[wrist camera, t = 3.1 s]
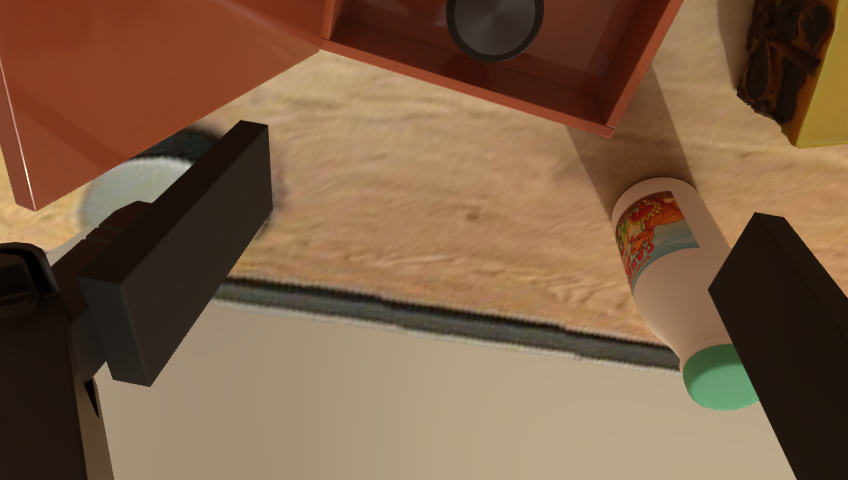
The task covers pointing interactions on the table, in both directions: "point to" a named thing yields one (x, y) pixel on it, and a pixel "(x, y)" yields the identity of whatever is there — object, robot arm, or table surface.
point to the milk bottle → (681, 285)
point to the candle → (799, 69)
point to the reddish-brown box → (524, 74)
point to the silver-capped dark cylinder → (494, 27)
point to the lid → (129, 77)
